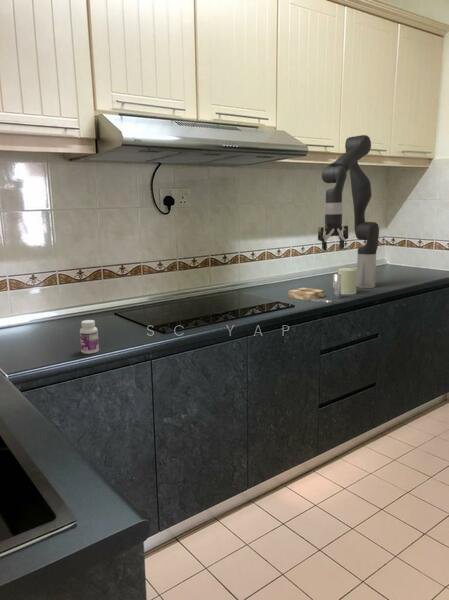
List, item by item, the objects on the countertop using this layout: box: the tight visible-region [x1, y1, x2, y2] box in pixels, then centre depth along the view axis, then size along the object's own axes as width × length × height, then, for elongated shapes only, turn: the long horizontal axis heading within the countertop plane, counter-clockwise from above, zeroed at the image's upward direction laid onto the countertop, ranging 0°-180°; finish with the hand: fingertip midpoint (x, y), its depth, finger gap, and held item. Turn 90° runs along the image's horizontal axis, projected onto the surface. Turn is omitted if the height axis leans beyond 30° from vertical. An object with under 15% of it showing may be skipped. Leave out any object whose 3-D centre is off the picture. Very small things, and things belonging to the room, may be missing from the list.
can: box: [337, 267, 357, 296], centre depth 235 cm, size 9×9×12 cm
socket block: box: [287, 287, 325, 301], centre depth 227 cm, size 12×12×3 cm
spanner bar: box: [310, 298, 333, 304], centre depth 216 cm, size 11×3×1 cm, turn 45°
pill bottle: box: [79, 319, 100, 355], centre depth 149 cm, size 5×5×10 cm
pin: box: [332, 273, 342, 300], centre depth 223 cm, size 4×4×11 cm
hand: (333, 249), depth 217 cm, fingers open, 8 cm apart
